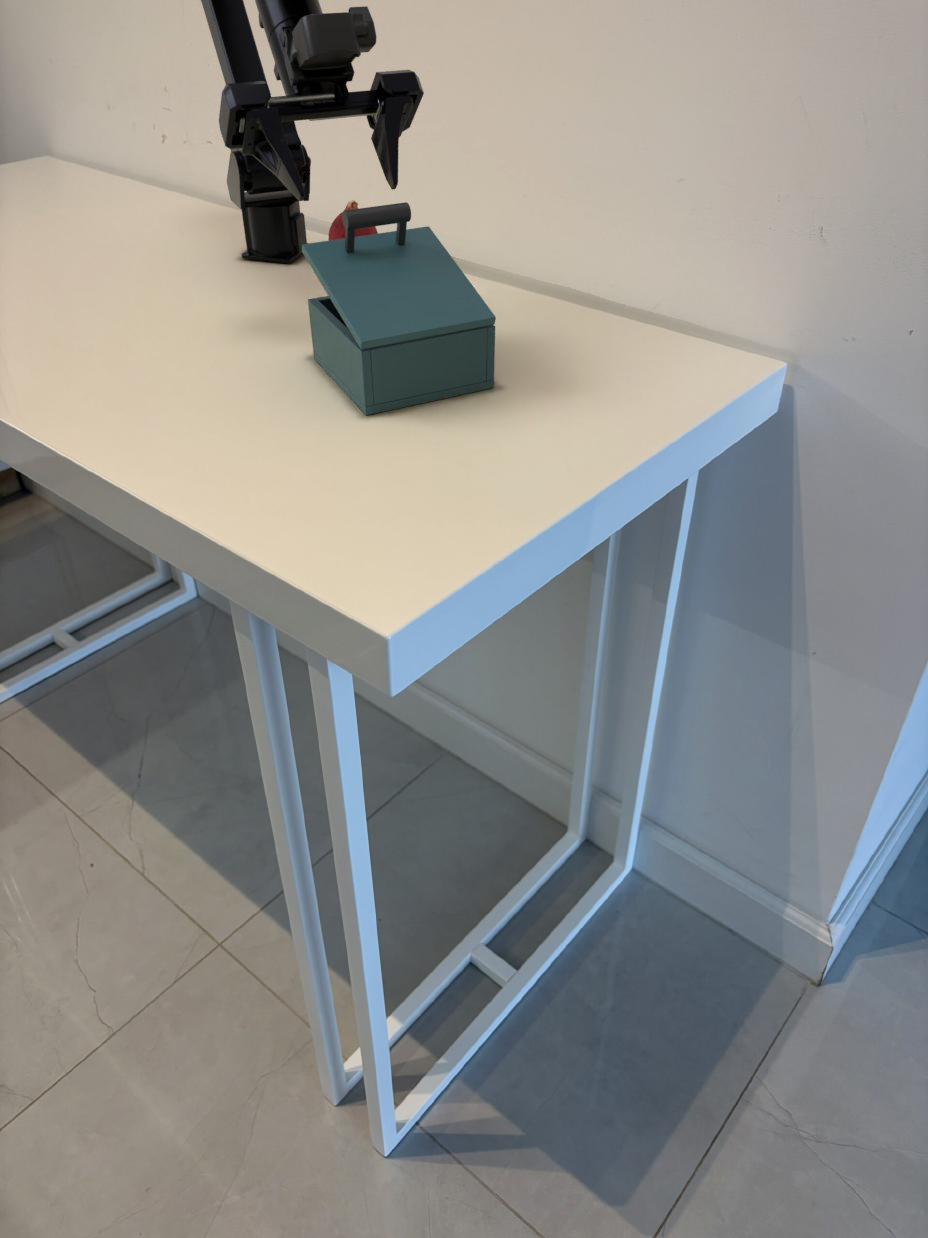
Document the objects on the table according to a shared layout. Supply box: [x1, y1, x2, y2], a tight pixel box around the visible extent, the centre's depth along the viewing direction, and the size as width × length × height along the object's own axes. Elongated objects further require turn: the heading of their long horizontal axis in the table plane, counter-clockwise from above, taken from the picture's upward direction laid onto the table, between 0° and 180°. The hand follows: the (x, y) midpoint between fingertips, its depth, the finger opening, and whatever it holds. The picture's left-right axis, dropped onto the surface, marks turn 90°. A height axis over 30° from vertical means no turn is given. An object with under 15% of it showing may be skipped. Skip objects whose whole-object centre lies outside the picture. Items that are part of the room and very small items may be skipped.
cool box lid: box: [302, 201, 497, 350], centre depth 81 cm, size 14×13×5 cm
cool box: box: [307, 295, 496, 416], centre depth 86 cm, size 14×13×6 cm
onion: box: [328, 199, 379, 241], centre depth 107 cm, size 6×6×8 cm
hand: (349, 192), depth 87 cm, fingers open, 9 cm apart
